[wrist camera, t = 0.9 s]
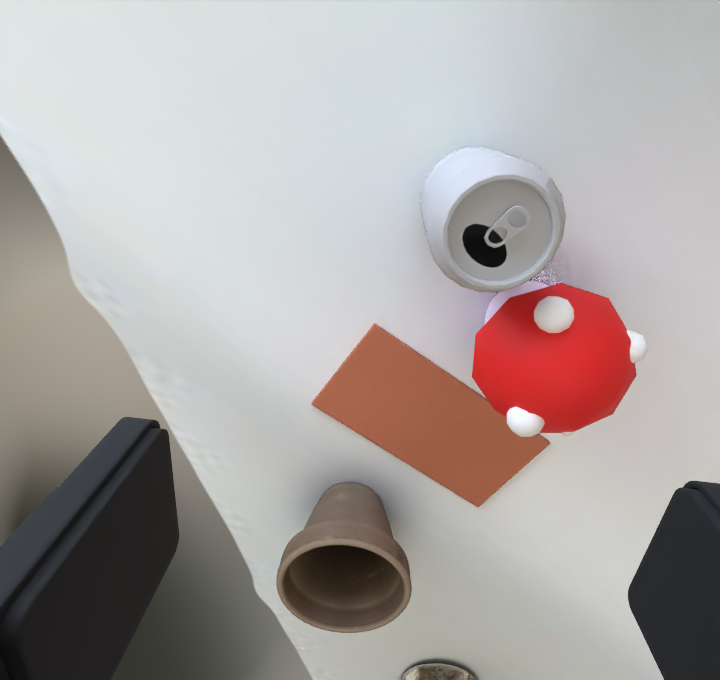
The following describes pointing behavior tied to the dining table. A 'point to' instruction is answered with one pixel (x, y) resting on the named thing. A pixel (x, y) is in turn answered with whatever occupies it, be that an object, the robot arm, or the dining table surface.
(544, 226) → the can
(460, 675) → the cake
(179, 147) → the dining table surface
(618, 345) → the mushroom
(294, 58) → the dining table surface
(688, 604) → the robot arm
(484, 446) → the napkin
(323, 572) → the flower pot
